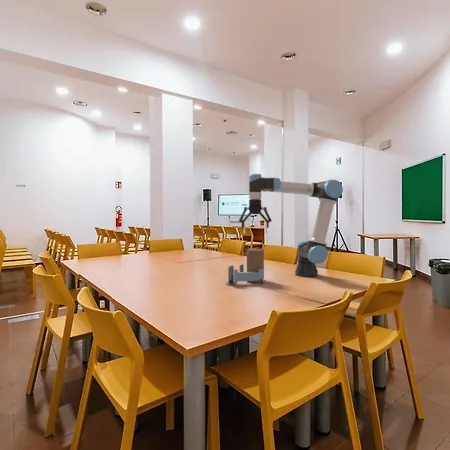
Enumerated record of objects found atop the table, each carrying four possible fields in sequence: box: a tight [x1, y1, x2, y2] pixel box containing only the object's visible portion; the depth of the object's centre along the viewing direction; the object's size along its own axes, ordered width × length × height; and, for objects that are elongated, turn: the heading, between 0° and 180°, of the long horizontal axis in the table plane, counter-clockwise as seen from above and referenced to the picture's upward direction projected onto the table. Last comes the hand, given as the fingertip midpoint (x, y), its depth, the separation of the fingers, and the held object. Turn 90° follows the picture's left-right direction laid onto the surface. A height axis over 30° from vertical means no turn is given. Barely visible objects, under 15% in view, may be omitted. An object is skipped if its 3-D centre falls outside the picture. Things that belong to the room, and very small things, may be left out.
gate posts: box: [225, 263, 245, 286], centre depth 194 cm, size 6×23×11 cm, turn 157°
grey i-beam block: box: [234, 268, 264, 284], centre depth 186 cm, size 17×3×8 cm, turn 93°
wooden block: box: [246, 248, 265, 284], centre depth 195 cm, size 10×10×20 cm
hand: (255, 233), depth 194 cm, fingers open, 13 cm apart
